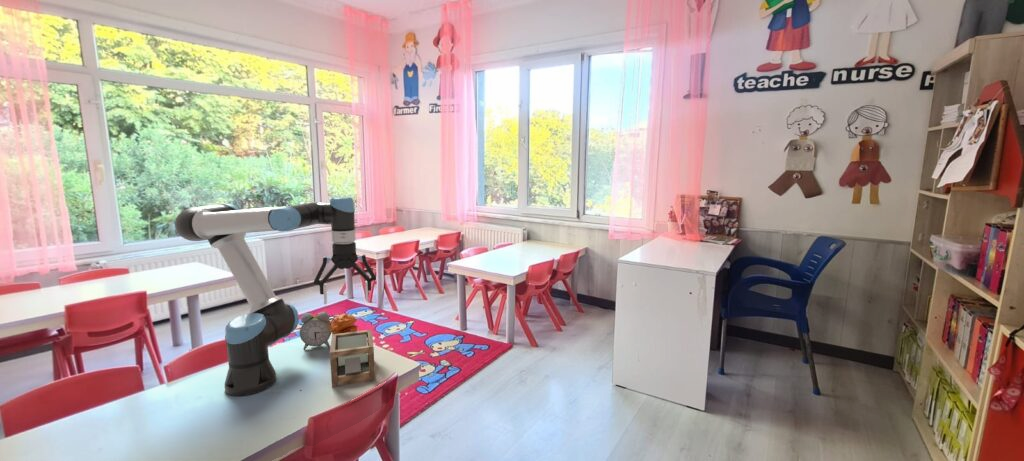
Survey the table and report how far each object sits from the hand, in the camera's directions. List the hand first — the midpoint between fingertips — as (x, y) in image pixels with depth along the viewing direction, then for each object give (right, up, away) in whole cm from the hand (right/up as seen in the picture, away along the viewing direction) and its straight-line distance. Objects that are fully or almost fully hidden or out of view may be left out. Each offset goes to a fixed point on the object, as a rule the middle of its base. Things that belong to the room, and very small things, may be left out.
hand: (346, 301), depth 150 cm
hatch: (0, -19, +7) cm, 20 cm away
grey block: (+1, -25, +3) cm, 25 cm away
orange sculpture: (-7, -25, +17) cm, 31 cm away
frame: (+1, -27, +5) cm, 27 cm away
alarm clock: (-22, -23, +26) cm, 41 cm away
